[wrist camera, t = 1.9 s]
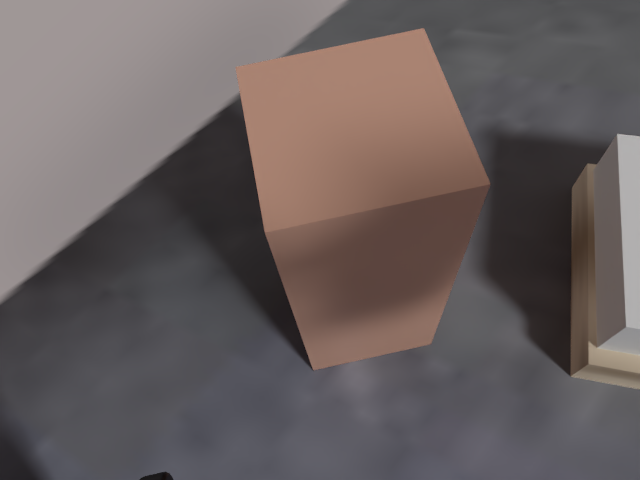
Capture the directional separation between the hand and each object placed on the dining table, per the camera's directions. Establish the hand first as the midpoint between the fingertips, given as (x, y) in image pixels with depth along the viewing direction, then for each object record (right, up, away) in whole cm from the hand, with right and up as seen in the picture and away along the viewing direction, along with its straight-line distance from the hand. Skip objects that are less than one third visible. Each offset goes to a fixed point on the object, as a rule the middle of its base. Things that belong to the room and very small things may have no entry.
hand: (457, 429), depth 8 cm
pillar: (-1, 0, +15) cm, 15 cm away
